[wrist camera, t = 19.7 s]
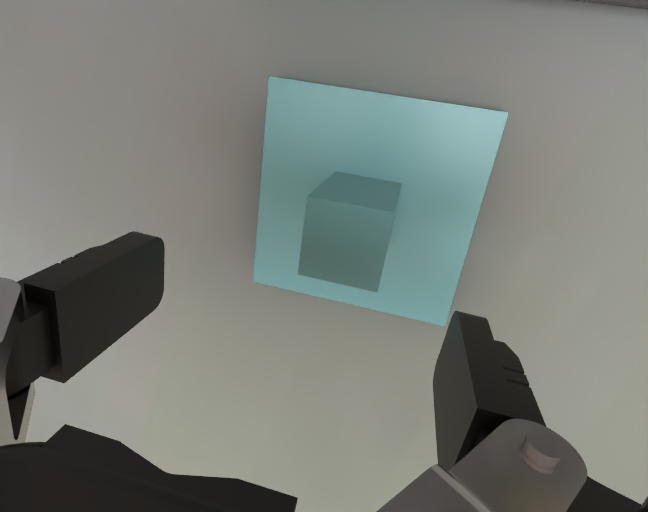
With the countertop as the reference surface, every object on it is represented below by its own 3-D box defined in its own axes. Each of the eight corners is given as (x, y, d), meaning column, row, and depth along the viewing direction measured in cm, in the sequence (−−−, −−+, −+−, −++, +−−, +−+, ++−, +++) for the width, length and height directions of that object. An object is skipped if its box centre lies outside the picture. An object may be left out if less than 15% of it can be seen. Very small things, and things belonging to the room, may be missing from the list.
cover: (262, 270, 23) (207, 331, 17) (280, 77, 19) (215, 69, 13) (443, 311, 21) (451, 394, 15) (501, 111, 17) (542, 119, 12)
